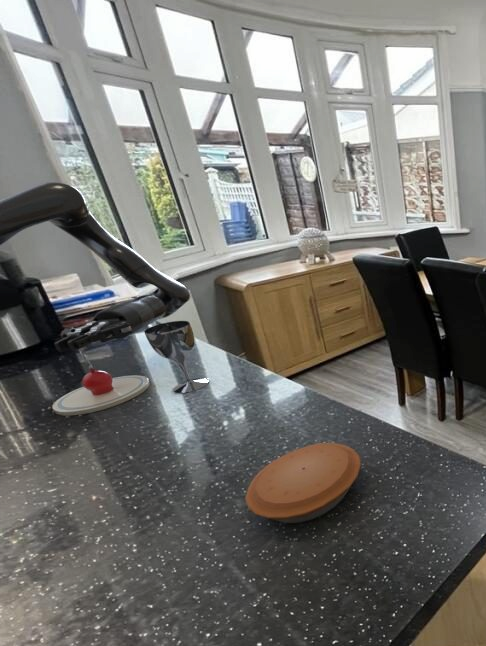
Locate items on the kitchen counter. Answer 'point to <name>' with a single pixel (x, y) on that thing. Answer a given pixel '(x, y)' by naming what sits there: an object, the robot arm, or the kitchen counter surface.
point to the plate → (101, 396)
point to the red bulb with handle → (93, 374)
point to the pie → (303, 483)
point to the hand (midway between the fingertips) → (64, 346)
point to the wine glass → (176, 349)
